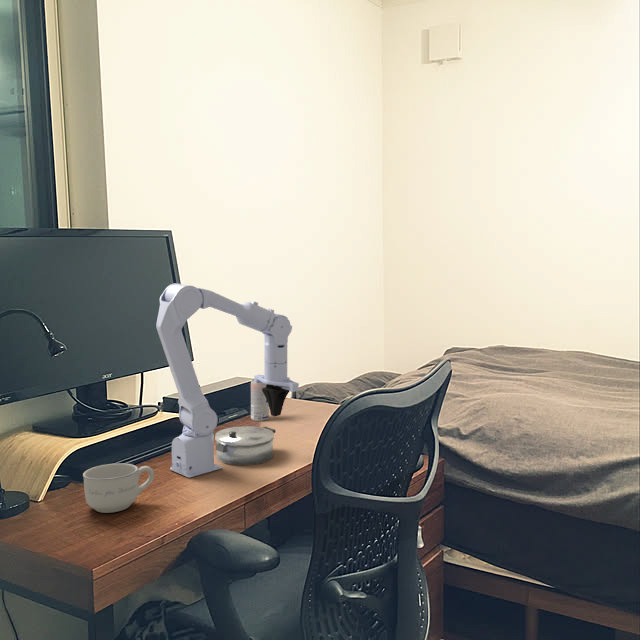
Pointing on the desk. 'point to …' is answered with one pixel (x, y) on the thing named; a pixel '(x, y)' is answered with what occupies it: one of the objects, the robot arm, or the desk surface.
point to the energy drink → (258, 402)
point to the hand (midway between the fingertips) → (275, 415)
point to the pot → (244, 454)
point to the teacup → (114, 486)
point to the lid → (245, 436)
